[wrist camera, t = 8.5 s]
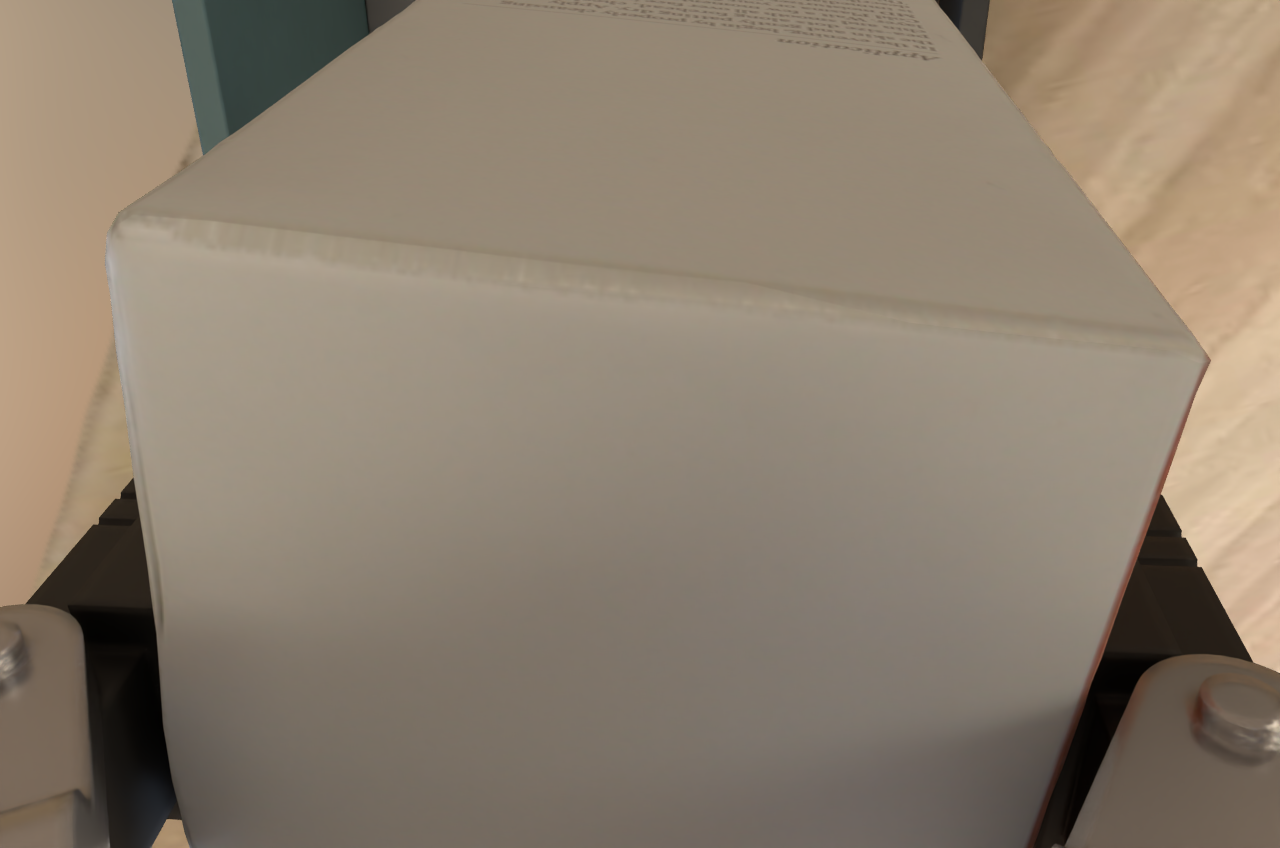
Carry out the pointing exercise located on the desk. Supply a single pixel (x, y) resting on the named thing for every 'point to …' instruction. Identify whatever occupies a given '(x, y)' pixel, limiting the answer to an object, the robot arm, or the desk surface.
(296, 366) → the small box
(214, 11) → the countertop display stand
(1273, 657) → the desk surface
